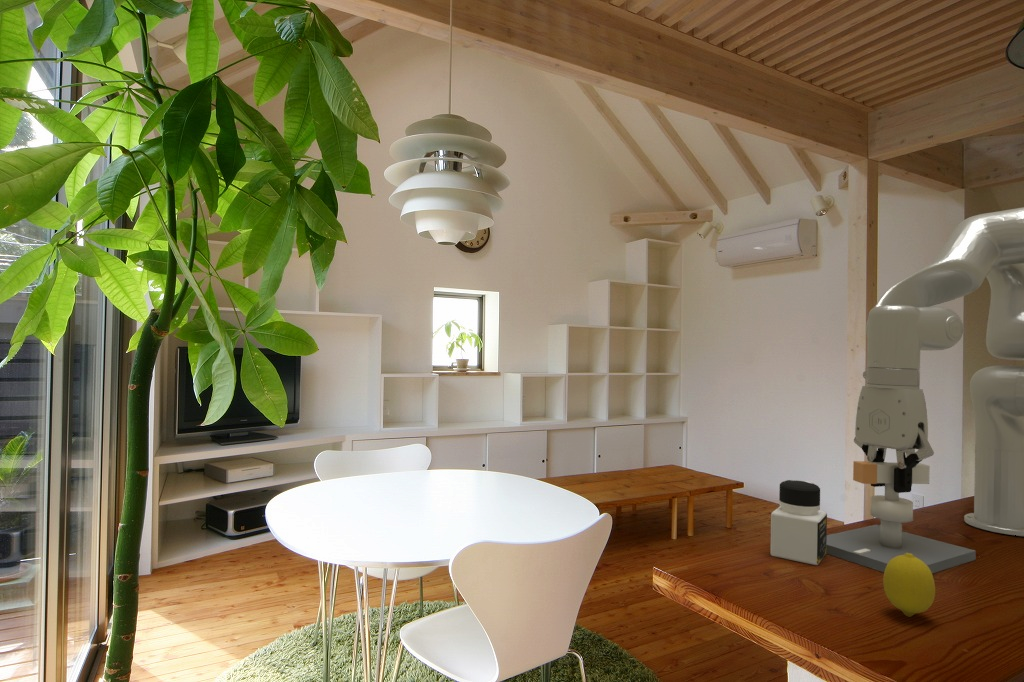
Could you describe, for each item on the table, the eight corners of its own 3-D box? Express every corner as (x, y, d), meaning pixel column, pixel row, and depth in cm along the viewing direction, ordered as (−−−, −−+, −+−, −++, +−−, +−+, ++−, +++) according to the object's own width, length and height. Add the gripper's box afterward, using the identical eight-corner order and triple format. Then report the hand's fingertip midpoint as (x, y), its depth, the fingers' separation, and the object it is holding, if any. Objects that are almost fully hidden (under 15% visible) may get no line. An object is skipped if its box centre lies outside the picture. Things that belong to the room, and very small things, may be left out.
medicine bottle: (818, 566, 94) (819, 489, 94) (769, 556, 98) (771, 482, 98) (826, 554, 99) (827, 481, 99) (780, 545, 104) (781, 475, 104)
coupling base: (876, 532, 112) (876, 500, 112) (975, 559, 98) (976, 523, 98) (809, 547, 102) (809, 512, 102) (909, 580, 88) (909, 539, 89)
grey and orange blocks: (868, 521, 97) (869, 466, 97) (846, 511, 103) (847, 459, 103) (936, 522, 98) (937, 467, 98) (911, 512, 104) (911, 460, 104)
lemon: (874, 605, 79) (875, 544, 80) (919, 608, 79) (920, 547, 79) (896, 624, 74) (897, 559, 74) (944, 627, 73) (945, 562, 73)
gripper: (834, 376, 107) (832, 479, 107) (925, 382, 92) (922, 502, 91) (865, 376, 110) (863, 477, 109) (959, 382, 94) (957, 500, 94)
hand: (890, 487), depth 100 cm, fingers closed on grey and orange blocks, 3 cm apart
